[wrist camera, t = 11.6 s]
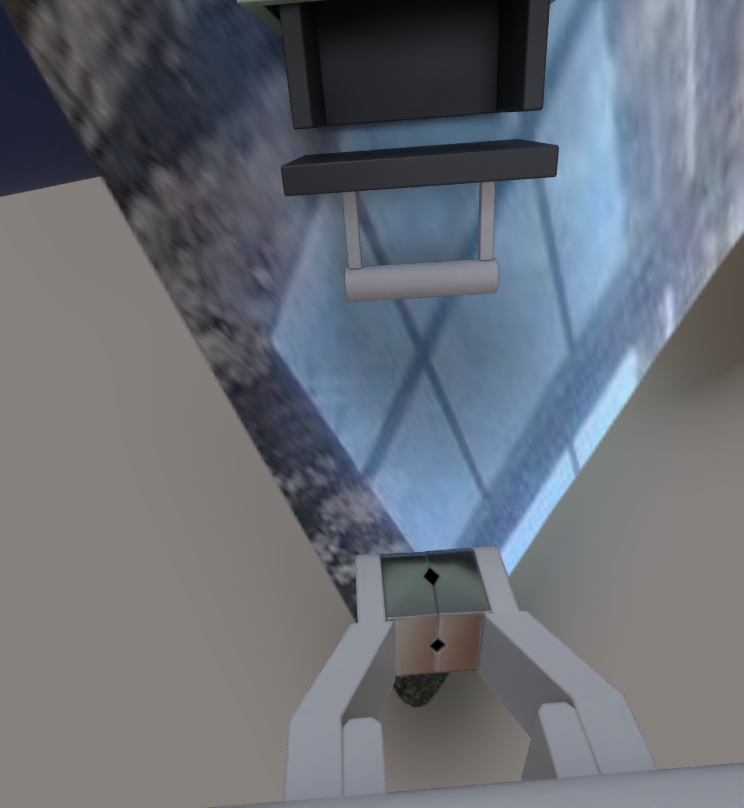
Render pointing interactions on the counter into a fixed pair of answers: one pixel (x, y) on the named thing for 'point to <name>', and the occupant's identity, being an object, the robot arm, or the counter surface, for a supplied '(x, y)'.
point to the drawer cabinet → (271, 11)
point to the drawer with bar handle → (415, 113)
